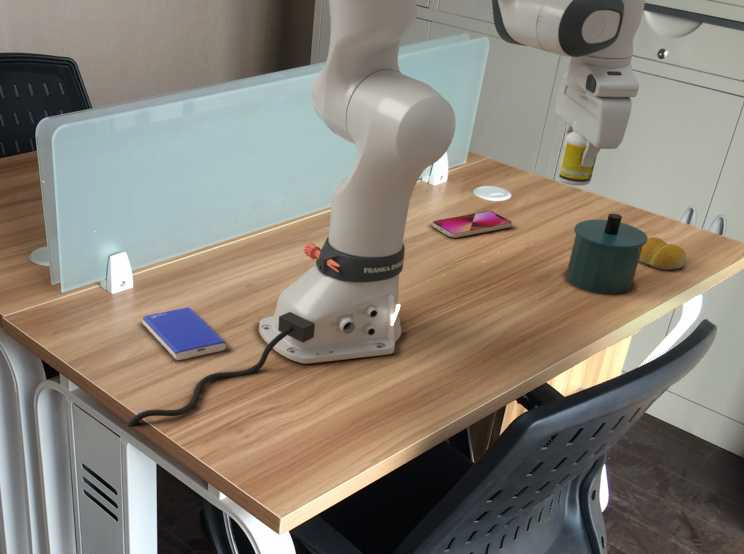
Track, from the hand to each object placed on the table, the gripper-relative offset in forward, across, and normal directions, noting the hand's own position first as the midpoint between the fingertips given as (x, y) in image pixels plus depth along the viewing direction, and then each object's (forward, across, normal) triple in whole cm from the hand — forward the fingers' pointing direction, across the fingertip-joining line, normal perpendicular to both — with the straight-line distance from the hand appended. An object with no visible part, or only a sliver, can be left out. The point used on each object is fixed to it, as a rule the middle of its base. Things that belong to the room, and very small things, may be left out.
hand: (578, 159), depth 155 cm
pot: (+22, 0, +8) cm, 23 cm away
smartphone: (+22, -24, -8) cm, 33 cm away
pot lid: (+13, 0, +9) cm, 16 cm away
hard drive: (+21, +22, -65) cm, 72 cm away
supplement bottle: (+4, 0, 0) cm, 4 cm away
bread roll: (+22, -8, +23) cm, 33 cm away
